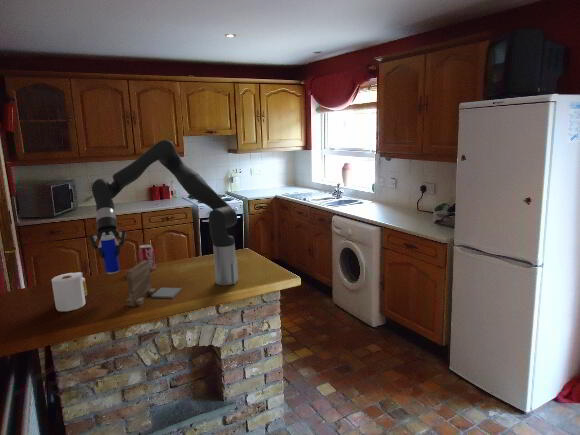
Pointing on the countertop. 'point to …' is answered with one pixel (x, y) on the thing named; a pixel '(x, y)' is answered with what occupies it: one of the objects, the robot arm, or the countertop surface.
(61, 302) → the toilet paper
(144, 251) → the soda can
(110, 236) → the beverage can
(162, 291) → the coaster
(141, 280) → the board
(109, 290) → the countertop surface
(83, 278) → the supplement bottle
